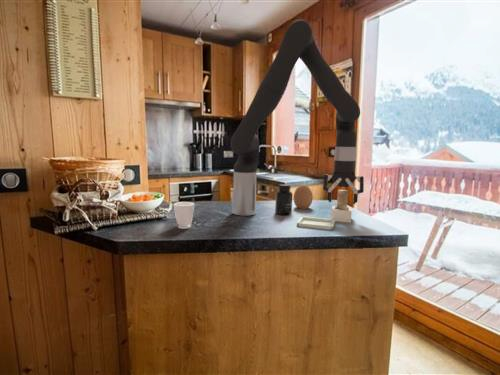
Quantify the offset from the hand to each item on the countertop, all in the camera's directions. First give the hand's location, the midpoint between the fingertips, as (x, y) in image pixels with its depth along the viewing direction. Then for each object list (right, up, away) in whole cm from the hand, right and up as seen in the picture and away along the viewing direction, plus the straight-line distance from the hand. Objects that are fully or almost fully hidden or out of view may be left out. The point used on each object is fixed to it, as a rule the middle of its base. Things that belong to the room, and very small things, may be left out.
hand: (342, 202), depth 110 cm
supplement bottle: (-21, -5, +12) cm, 24 cm away
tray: (-11, -8, -7) cm, 15 cm away
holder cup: (0, -7, +1) cm, 7 cm away
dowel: (0, -6, +1) cm, 6 cm away
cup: (-57, -8, -8) cm, 58 cm away
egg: (-11, -4, +20) cm, 23 cm away
